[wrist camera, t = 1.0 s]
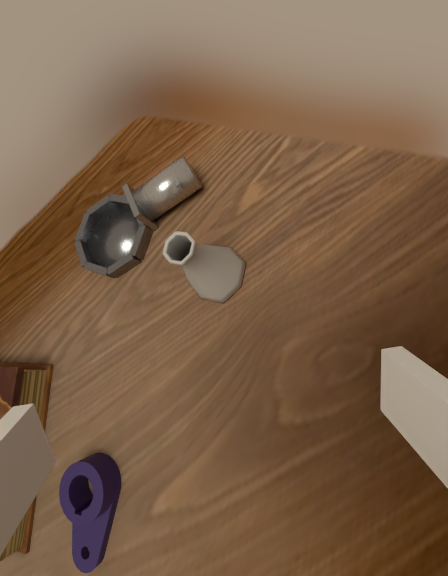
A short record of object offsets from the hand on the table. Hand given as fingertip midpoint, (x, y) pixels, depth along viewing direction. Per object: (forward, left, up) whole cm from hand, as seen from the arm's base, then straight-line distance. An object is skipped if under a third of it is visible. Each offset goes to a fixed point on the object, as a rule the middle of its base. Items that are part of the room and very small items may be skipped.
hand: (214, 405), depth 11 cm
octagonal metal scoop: (+9, -27, -21) cm, 35 cm away
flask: (+2, -14, -21) cm, 25 cm away
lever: (+28, +5, -21) cm, 36 cm away
